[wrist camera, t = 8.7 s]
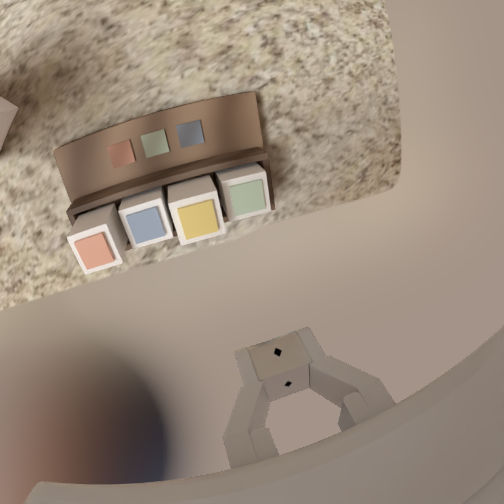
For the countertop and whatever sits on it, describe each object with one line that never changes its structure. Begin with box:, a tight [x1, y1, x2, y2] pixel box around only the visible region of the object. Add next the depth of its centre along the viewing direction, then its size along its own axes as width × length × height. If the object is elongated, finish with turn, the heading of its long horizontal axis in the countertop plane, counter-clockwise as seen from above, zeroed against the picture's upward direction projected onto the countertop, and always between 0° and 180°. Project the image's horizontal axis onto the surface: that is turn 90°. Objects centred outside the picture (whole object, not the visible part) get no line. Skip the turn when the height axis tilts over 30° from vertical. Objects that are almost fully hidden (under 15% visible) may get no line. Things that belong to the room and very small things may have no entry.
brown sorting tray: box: [53, 92, 275, 251], centre depth 23 cm, size 18×11×4 cm, turn 99°
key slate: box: [118, 185, 173, 249], centre depth 22 cm, size 3×3×4 cm
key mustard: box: [168, 175, 226, 246], centre depth 22 cm, size 3×3×4 cm
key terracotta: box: [67, 203, 128, 274], centre depth 21 cm, size 3×3×4 cm
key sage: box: [214, 162, 271, 222], centre depth 24 cm, size 3×3×4 cm
